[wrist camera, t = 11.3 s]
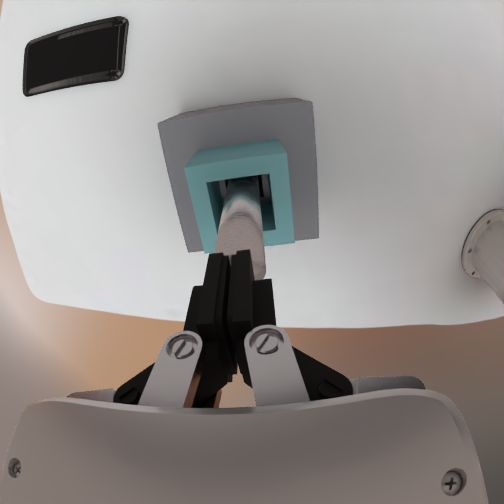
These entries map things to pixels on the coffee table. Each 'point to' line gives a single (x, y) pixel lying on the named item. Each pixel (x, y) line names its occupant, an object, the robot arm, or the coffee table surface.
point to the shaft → (242, 223)
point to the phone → (76, 56)
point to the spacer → (234, 166)
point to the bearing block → (237, 132)
